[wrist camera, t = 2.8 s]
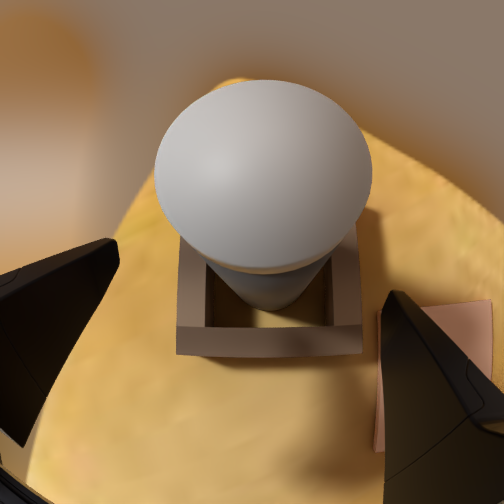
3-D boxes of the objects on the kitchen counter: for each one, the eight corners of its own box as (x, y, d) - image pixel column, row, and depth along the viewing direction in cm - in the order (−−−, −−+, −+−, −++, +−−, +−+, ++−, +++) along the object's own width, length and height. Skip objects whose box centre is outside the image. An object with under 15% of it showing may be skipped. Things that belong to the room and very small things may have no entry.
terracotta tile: (482, 421, 14) (486, 422, 14) (372, 449, 15) (375, 452, 14) (486, 300, 16) (490, 299, 16) (377, 311, 17) (380, 310, 16)
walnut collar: (350, 350, 17) (362, 353, 14) (188, 351, 17) (176, 354, 15) (341, 198, 19) (350, 180, 17) (194, 200, 20) (184, 183, 17)
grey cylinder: (308, 310, 17) (386, 263, 5) (230, 310, 18) (142, 266, 5) (305, 235, 18) (352, 82, 6) (232, 236, 19) (170, 87, 7)
